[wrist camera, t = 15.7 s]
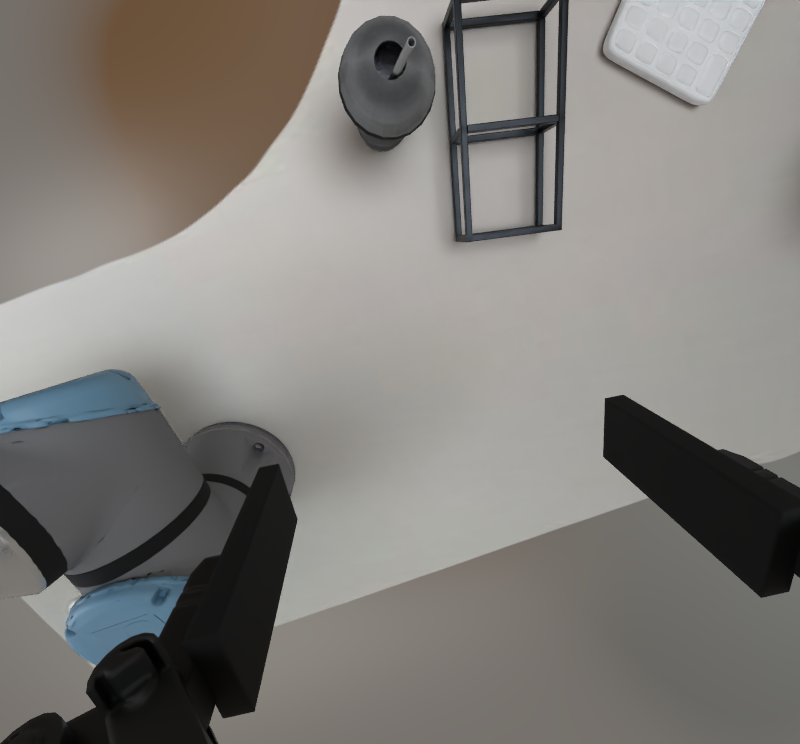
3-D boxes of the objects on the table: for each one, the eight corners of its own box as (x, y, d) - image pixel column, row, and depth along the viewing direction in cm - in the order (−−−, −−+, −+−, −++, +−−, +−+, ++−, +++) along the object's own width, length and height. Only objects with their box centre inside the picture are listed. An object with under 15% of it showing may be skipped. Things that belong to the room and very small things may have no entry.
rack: (455, 241, 43) (467, 242, 38) (442, 23, 36) (453, -9, 31) (540, 230, 43) (561, 229, 38) (542, 13, 36) (569, -21, 31)
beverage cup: (379, 65, 37) (392, -114, 18) (431, 126, 39) (490, 23, 20) (331, 126, 38) (296, 20, 19) (383, 182, 40) (397, 134, 21)
